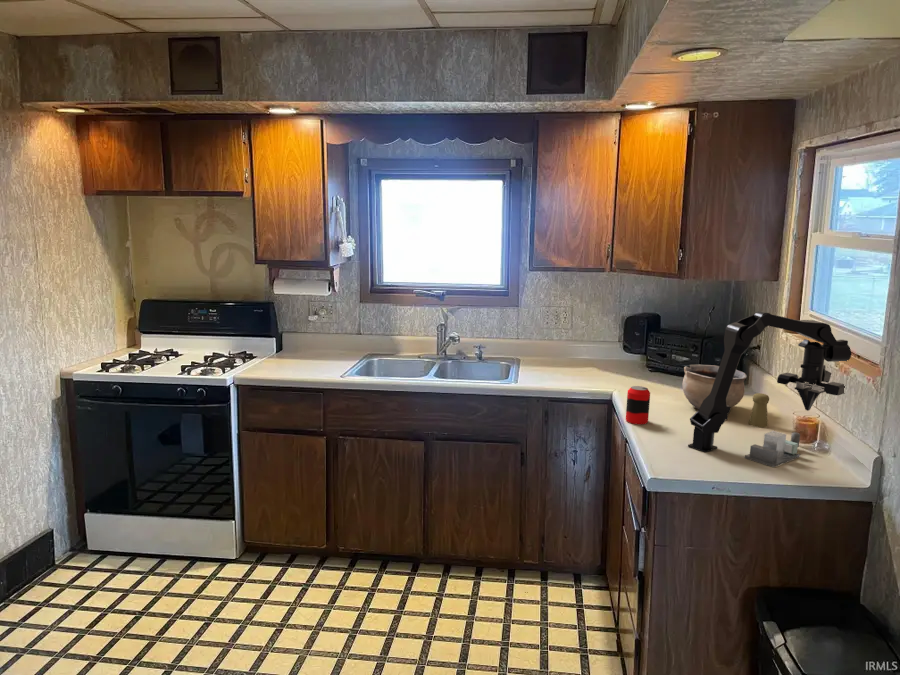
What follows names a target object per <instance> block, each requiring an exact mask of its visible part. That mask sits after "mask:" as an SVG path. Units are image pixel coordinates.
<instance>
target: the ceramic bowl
mask: <svg viewBox="0 0 900 675" xmlns="http://www.w3.org/2000/svg"><path fill="white" fill-rule="evenodd" d="M719 366H720V365H715V364H714V365H711V364H689V366H684V367H683V371H684V376H683V380H682V392H683V394H684V396H685V398H686V400H688V402H689V403H690V404H691V406H692V407H694V408H695V409H697V410H699V408H700V406H701V404H702V402H703V400H704V399H705V398H706V397H707V396H708V395H709V394H710V393H711V390H712V387H713V384H714V381H715V378H716V375H717V372H718V369H719ZM747 377H748V376H747V374H746V373H745V372H743V371H741V370H738V369H736V372H735V374H734V377H733V380H732V383H731V386H730V389H729V392H728V395H727V398H726V403H727V405H728V406H730V407H731V409H733V407H735V406H737V405H738V404H739V403H740V402H741V400H742V399H743V398H744V395H745V393H746V392H745V391H746V390H745V381H746V380H747Z"/></svg>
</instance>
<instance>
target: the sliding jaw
mask: <svg viewBox="0 0 900 675" xmlns="http://www.w3.org/2000/svg"><path fill="white" fill-rule="evenodd" d="M790 435H791V436H790V440H787V439H786V442H785V451H784V452H786V453H790V454H795V453H796V454H798V448H799V447H800V439H801V433H800V432H791V434H790Z"/></svg>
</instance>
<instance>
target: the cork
mask: <svg viewBox="0 0 900 675" xmlns="http://www.w3.org/2000/svg"><path fill="white" fill-rule="evenodd" d="M752 402H753V405H752V410H751V413H750V418H749V422H748V424H749V425H750V426H752V427H754V428H755V427H756V428H767V427H768V425H769V424H768V423H769V422H768V421H769V420H768V404H769V402H770V397H769V395H768V394H767V393H760V392H757V393H754V394H753V395H752Z"/></svg>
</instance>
